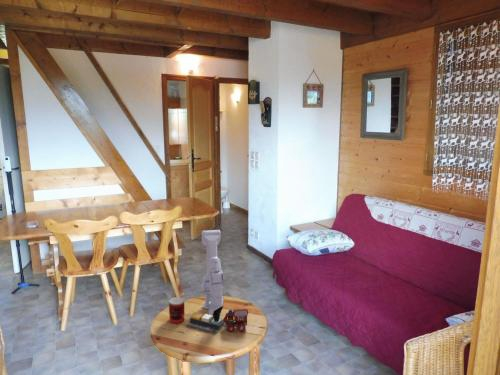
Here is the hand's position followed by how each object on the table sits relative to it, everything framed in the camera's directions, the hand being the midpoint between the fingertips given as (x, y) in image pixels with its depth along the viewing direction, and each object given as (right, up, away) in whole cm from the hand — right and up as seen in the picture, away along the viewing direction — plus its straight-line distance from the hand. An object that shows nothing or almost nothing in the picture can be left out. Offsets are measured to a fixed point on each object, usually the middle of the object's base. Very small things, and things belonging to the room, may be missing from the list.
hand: (216, 320), depth 190 cm
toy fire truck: (+9, -4, -1) cm, 10 cm away
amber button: (-10, -1, +5) cm, 11 cm away
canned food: (-21, -2, +6) cm, 22 cm away
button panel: (-5, -3, +3) cm, 6 cm away
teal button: (0, -2, 0) cm, 2 cm away
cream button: (-5, -1, +2) cm, 6 cm away
